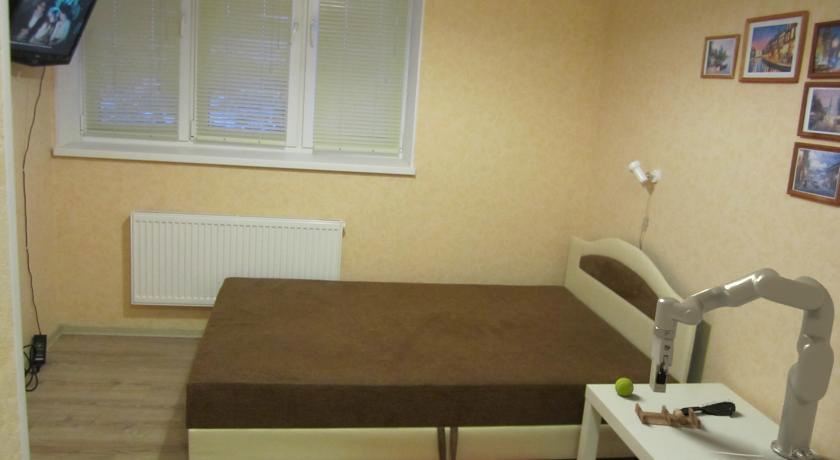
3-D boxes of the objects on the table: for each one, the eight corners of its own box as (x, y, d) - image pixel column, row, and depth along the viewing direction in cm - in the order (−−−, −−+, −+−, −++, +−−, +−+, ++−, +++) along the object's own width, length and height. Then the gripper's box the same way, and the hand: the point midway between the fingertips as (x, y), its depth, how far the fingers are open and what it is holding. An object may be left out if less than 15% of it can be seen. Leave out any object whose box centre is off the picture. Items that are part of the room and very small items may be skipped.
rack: (699, 430, 231) (700, 420, 231) (641, 425, 232) (643, 415, 232) (689, 417, 241) (691, 407, 240) (634, 412, 242) (635, 403, 242)
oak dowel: (688, 424, 233) (687, 417, 232) (679, 425, 233) (678, 417, 233) (681, 415, 240) (681, 408, 239) (673, 416, 240) (672, 408, 239)
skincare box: (665, 393, 232) (670, 361, 229) (652, 392, 232) (657, 360, 229) (660, 385, 238) (664, 354, 235) (648, 384, 238) (652, 353, 236)
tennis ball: (613, 390, 260) (615, 373, 259) (632, 393, 258) (634, 376, 257) (614, 397, 254) (616, 380, 252) (632, 400, 252) (635, 383, 251)
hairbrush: (670, 402, 245) (725, 396, 252) (669, 412, 245) (724, 404, 253) (685, 413, 237) (741, 405, 244) (684, 422, 238) (740, 415, 245)
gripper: (683, 341, 222) (675, 391, 225) (668, 325, 239) (661, 371, 242) (660, 339, 222) (653, 389, 226) (647, 323, 239) (640, 369, 243)
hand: (657, 379), depth 234 cm, fingers closed on skincare box, 6 cm apart
